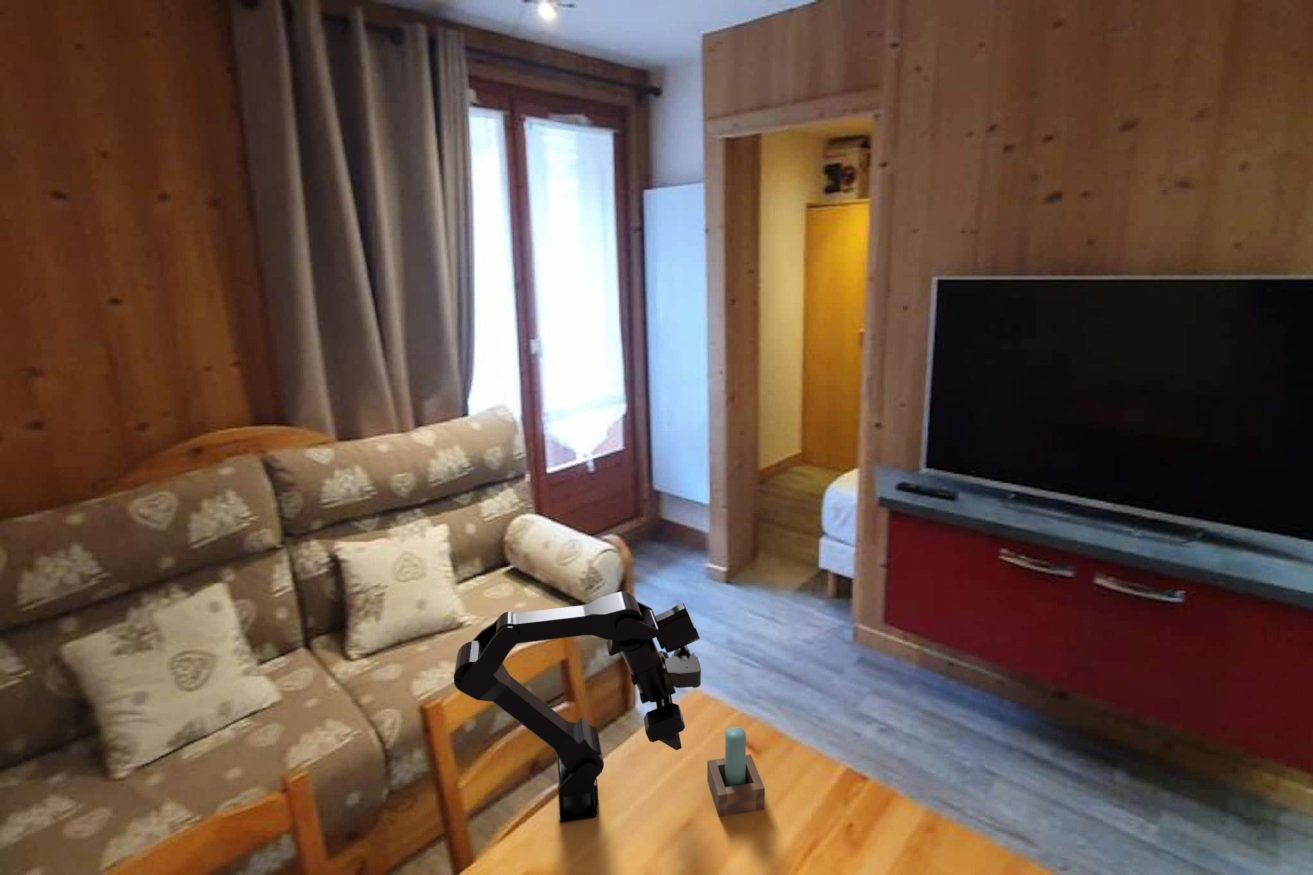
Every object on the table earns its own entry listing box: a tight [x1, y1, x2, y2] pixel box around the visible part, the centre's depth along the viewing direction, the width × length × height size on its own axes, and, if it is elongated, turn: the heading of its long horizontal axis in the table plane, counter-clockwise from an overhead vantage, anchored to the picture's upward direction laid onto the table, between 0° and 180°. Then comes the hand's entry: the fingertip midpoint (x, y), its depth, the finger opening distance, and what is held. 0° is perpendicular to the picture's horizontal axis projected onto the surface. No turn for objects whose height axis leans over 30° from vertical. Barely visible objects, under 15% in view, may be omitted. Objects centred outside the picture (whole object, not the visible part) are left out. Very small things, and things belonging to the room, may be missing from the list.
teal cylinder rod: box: [724, 726, 747, 787], centre depth 119 cm, size 4×4×13 cm
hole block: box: [706, 753, 766, 817], centre depth 120 cm, size 8×8×4 cm
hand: (675, 729), depth 119 cm, fingers open, 9 cm apart
